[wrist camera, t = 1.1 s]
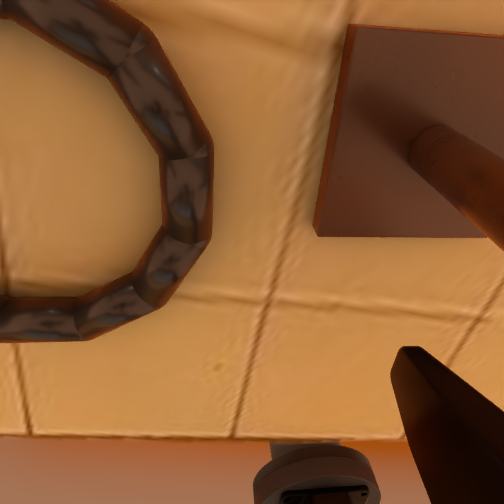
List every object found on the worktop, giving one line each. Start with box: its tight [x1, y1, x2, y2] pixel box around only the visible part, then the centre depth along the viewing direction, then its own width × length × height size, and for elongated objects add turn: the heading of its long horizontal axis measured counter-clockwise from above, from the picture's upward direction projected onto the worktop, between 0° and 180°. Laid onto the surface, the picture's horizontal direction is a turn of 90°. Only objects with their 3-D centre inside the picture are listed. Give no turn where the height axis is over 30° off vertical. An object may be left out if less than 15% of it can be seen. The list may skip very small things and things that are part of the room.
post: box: [313, 24, 504, 251], centre depth 13 cm, size 8×8×9 cm
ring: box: [0, 0, 214, 343], centre depth 15 cm, size 15×15×2 cm
